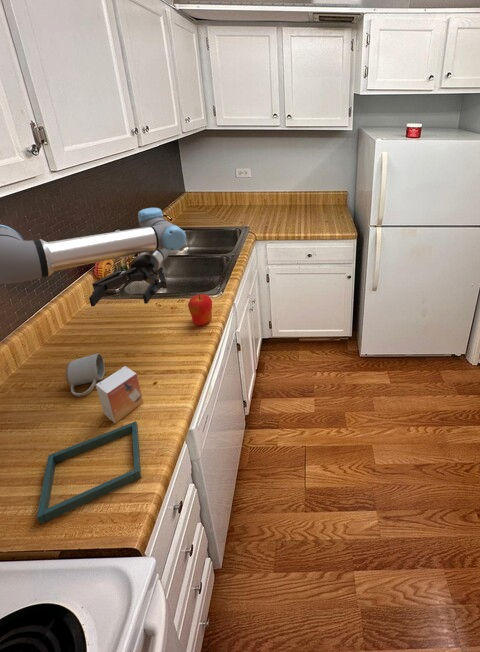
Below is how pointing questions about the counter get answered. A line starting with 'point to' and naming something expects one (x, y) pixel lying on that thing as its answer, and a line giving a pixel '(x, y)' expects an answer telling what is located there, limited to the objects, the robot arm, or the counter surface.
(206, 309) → the apple
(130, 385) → the small box
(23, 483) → the counter surface
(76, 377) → the ceramic mug
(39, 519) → the empty rectangular frame
